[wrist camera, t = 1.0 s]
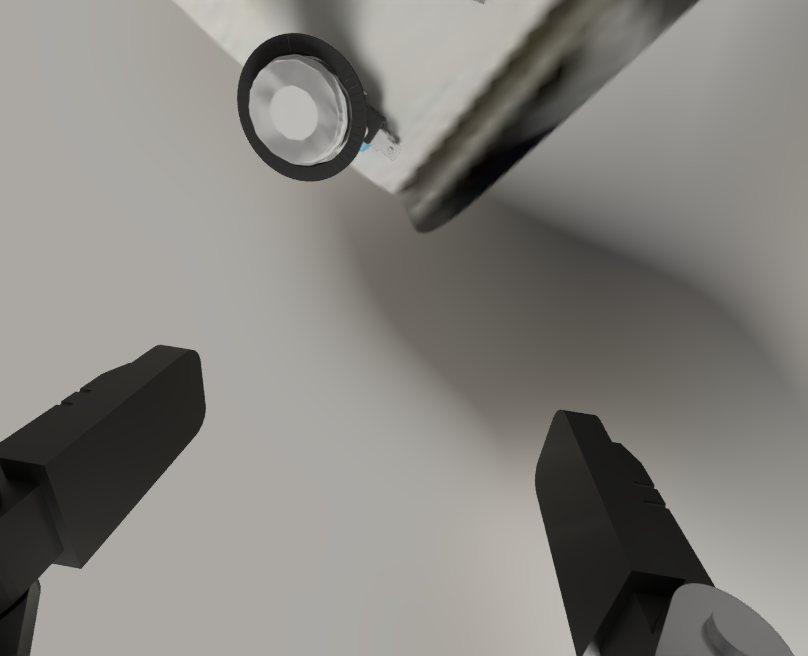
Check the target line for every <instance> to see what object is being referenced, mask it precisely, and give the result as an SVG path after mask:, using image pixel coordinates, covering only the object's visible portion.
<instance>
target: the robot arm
mask: <svg viewBox="0 0 808 656" xmlns="http://www.w3.org/2000/svg"><path fill="white" fill-rule="evenodd" d="M205 411H206V404H205V396H204V388H203V378H202V369H201V361H200V357H199V354H198V353H197V352H196V351H195V350H190V349H183V348H178V347H171V346H165V345H157V346H155V347H153V348H152V349H151V350H149V351H148V352H146V353H145V354H143V355H142V356H140V357H139V358H138V359H136V360H135V361H134V362H132V363H128V364H126V365H123V366H120V367H118V368H115V369H113V370H110V371H108V372H105V373H103V374H101V375H100V376H98V377H97V378H95V379H94V380H92V381H91V382H90V383H88V384H86V385H85V386H84V387H82V388H81V389H80V391H79V392H75V393H73V394H72V395H70V396H68V397H67V398H66V399H64V400H63V401H61V404H60V405H55V406H54V407H52V408H51V409H49V410H48V411H46V412H45V413H43V414H42V415H40V416H39V417H37V418H36V419H35V420H33V421H31V422H30V423H28V424H27V425H25V426H24V427H23V428H21V429H19V430H18V431H16V432H15V433H14V434H12V435H11V436H9V437H8V438H6V439H5V440H3V441H2V442H0V656H30V652H31V646H32V640H33V634H34V628H35V622H36V616H37V609H38V604H39V597H40V591H41V586H40V582H39V580H38V578H39V577H40V576H41V575H42V574H43V573H44V571H45V570H46V569H47V568H48V567H49V566H50V565H51V564H58V565H63V566H69V567H74V568H79V569H82V567H83V566H84V565H85V564H86V563H87V562H88V560H89V559H90V558H91V557H92V556H93V555H94V553H95V552H96V551H97V550H98V549H99V548H100V546H101V545H102V544H103V543H104V542H105V541H106V539H107V538H108V537H109V536H110V535H111V534H112V532H113V531H114V530H115V529H116V528H117V526H118V525H119V524H120V523H121V522H122V521H123V520H124V518H125V517H126V516H127V515H128V514H129V513H130V511H131V510H132V509H133V508H134V507H135V505H136V504H137V503H138V502H139V501H140V500H141V499H142V497H143V496H144V495H145V494H146V493H147V491H148V490H149V489H150V488H151V487H152V486H153V485H154V483H155V482H156V481H157V480H158V479H159V478H160V476H161V475H162V474H163V473H164V472H165V471H166V470H167V468H168V467H169V466H170V465H171V464H172V463H173V461H174V460H175V459H176V458H177V456H178V455H179V454H180V453H181V452H182V451H183V450H184V448H185V447H186V446H187V445H188V444H189V443H190V442H191V440H192V439H193V438H194V437H195V436H196V434H197V433H198V432H199V430H200V428H201V426H202V424H203V421H204V417H205ZM535 487H536V494H537V498H538V502H539V506H540V510H541V514H542V518H543V522H544V526H545V530H546V534H547V538H548V542H549V546H550V550H551V554H552V558H553V562H554V566H555V570H556V574H557V578H558V583H559V587H560V591H561V595H562V599H563V603H564V607H565V610H566V614H567V619H568V623H569V627H570V631H571V635H572V639H573V643H574V647H575V651H576V655H577V656H794V655H793V653H792V651H791V650H790V648H789V647H788V645H787V644H786V643H785V642H784V640H783V639H782V638H781V636H780V635H779V634H778V633H777V632H776V631H775V630H774V628H773V627H772V626H771V625H770V624H769V623H768V622H767V621H766V620H765V619H764V618H762V617H761V616H760V615H759V614H758V613H757V612H755V611H754V610H753V609H752V608H750V607H749V606H748V605H746V604H745V603H743V602H742V601H740V600H739V599H737V598H736V597H734V596H732V595H730V594H728V593H726V592H724V591H722V590H720V589H718V588H716V587H715V586H714V584H713V583H712V581H711V579H710V577H709V576H708V574H707V572H706V571H705V569H704V567H703V566H702V564H701V562H700V561H699V559H698V558H697V555H696V554H695V552H694V550H693V549H692V547H691V546H690V544H689V542H688V540H687V539H686V537H685V535H684V534H683V532H682V530H681V529H680V527H679V526H678V524H677V522H676V520H675V519H674V517H673V515H672V514H671V512H670V510H669V509H666V507H665V505H666V503H665V502H664V500H663V499H662V497H661V495H660V493H659V492H658V490H657V489H654V484H653V482H652V480H651V478H650V477H649V475H648V473H647V472H646V470H645V468H644V467H643V465H642V463H641V462H640V461H638V460H637V458H635V457H634V456H633V455H632V454H631V453H630V452H629V451H628V450H627V449H626V448H625V447H624V446H623V445H622V444H621V443H614V442H612V441H611V439H610V437H609V436H608V434H607V432H606V430H605V428H604V426H603V424H602V423H601V421H600V419H599V418H598V417H597V416H596V415H591V414H584V413H578V412H572V411H565V410H558V411H557V412H556V413H555V415H554V417H553V420H552V423H551V426H550V428H549V431H548V434H547V437H546V440H545V443H544V446H543V448H542V451H541V454H540V457H539V460H538V463H537V467H536V474H535Z"/></svg>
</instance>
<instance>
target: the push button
mask: <svg viewBox="0 0 808 656" xmlns="http://www.w3.org/2000/svg"><path fill="white" fill-rule="evenodd" d="M304 56H314V57H317V58H319V59H321V60H322V61H324V62H325V63H327V64H328V65H329V66H330V67H331V68H332V69H331V68H330V67H329V66H328V65H327V64H325V63H324V62H321V61H318V60H315V59H310V58H307V57H304ZM337 75H338V76H339V77H340V78H338V77H337ZM365 95H367V93H366V92H365V91H364V90H363V88H362V85H361V83H360V80H359V78H358V76H357V74H356V73H355V71H354V69H353V68H352V66H351V65H350V63H349V62H348V61H347V60H346V59H345V57H344V56H343V55H342V54H341V53H339V52H338V51H337V50H336V49H335V48H333V47H332V46H331V45H329V44H327V43H326V42H324V41H322V40H320V39H318V38H316V37H313V36H309V35H305V34H299V33H288V34H282V35H278V36H275V37H273V38H270V39H269V40H267V41H265V42H264V43H262V44H261V45H260V46H259V47H258V48H256V49H255V50H254V52H253V53H252V54H251V55H250V57H249V58H248V60H247V61H246V63H245V65H244V67H243V70H242V73H241V76H240V80H239V84H238V94H237V101H238V111H239V117H240V121H241V124H242V127H243V130H244V132H245V135H246V137H247V139H248V141H249V143H250V144H251V146H252V147H253V149H254V150H255V152H256V153H257V154H258V155H259V156H260V158H261V159H262V160H263V161H264V162H265V163H266V164H267V165H269V166H270V167H271V168H273V169H274V170H275V171H277V172H279V173H281V174H282V175H284V176H287V177H289V178H292V179H296V180H299V181H320V180H324V179H327V178H330V177H332V176H334V175H336V174H338V173H339V172H341V171H342V170H343V169H345V168H346V167H347V166H348V165H349V164H350V163H351V162H352V161H353V160H354V158H355V157H356V155H357V154H358V152H359V151H361V152H364V151H365V150H366V149H368V148H369V147H370V146H371V147H372V148H374V149H375V150H376V151H378V149H379V150H380V151H381V152H382V153H384V154H385V155H386V156H387V157H388V158H389V159H391V160H394V159H395V158H396V157H397V155H398V154H399V153H400V151H401V147H400V146H399V145H397V144H396V143H395V142H394V141H393V140H392V139H390V138H389V137H388V136H389V135H390V134H389V133H387V132H386V131H385V130H384V129H383V128H382V127H383V126H384V122H385V121H386V118H385V117H384V116H382V115H381V114H380V113H379V112H378V111H376V110H375V109H374V108H372V107H370V106H369V105H367V104H366V99H365ZM343 145H345V146H344V147H343V149H342V150H341V152H340V153H339V154H338V155H337V156H336V157H335V158H334V159H332V160H330V161H328V162H323V163H320V162H322V161H325V160H327V159H328V158H330V157H331V156H332V154H333V153H334V152H335V151H336V150H337V149H338V148H340V147H341V146H343ZM389 147H393V149H394V152H390V151H389Z"/></svg>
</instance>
